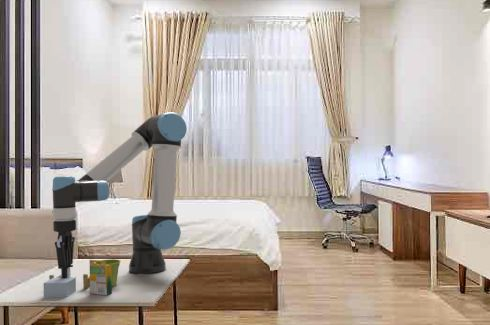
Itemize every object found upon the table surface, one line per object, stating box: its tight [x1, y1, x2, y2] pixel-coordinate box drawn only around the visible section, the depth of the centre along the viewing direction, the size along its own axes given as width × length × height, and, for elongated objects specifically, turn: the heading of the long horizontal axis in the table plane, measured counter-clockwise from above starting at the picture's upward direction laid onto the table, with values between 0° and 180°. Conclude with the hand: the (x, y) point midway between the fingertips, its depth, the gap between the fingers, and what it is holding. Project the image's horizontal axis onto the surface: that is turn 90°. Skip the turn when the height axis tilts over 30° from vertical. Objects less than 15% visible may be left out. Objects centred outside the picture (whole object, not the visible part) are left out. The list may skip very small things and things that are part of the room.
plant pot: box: [94, 258, 122, 287], centre depth 180 cm, size 9×9×9 cm
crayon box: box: [88, 259, 113, 296], centre depth 168 cm, size 7×3×12 cm, turn 65°
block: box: [42, 277, 77, 298], centre depth 169 cm, size 8×8×5 cm
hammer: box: [48, 273, 90, 290], centre depth 183 cm, size 14×14×5 cm
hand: (66, 286), depth 174 cm, fingers closed
